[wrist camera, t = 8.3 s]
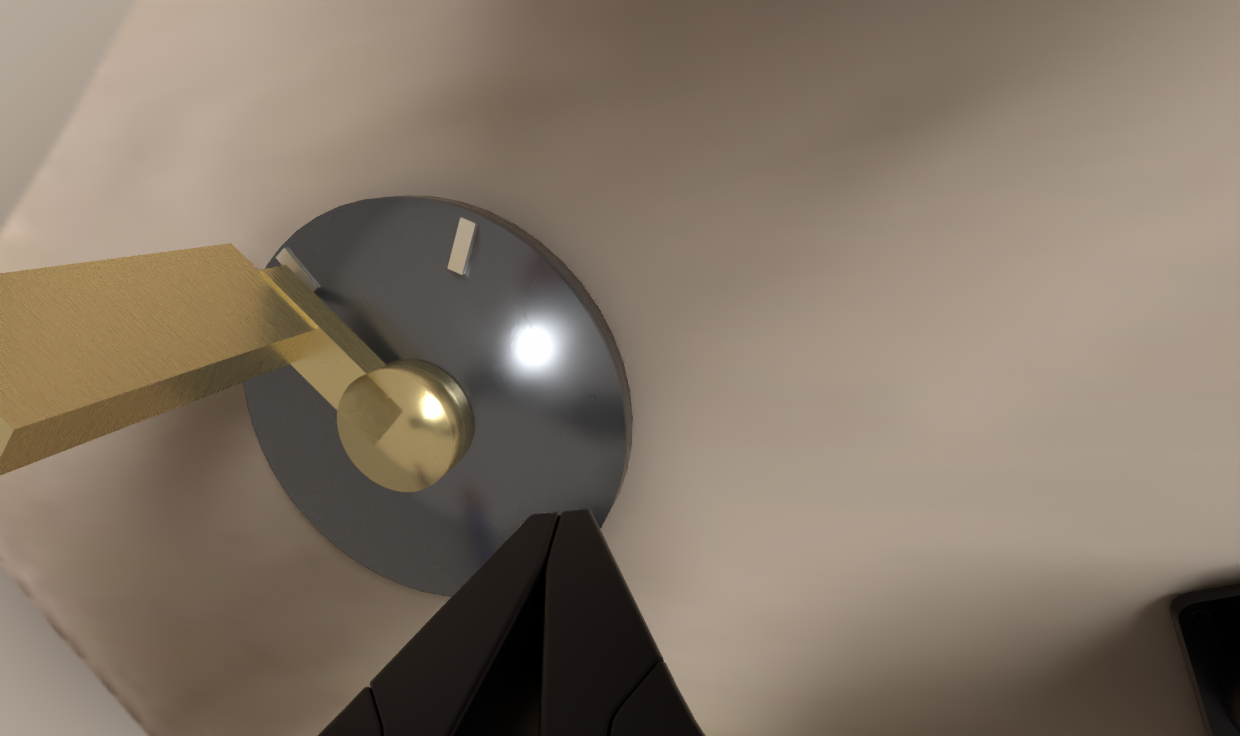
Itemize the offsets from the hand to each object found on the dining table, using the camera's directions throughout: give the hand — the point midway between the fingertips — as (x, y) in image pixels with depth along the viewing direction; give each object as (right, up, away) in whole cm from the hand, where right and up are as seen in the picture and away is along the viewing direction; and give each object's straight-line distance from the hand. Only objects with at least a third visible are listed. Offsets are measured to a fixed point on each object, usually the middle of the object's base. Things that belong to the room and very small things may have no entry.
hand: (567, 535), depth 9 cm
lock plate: (-6, +1, +13) cm, 14 cm away
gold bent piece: (-8, +3, +12) cm, 14 cm away
